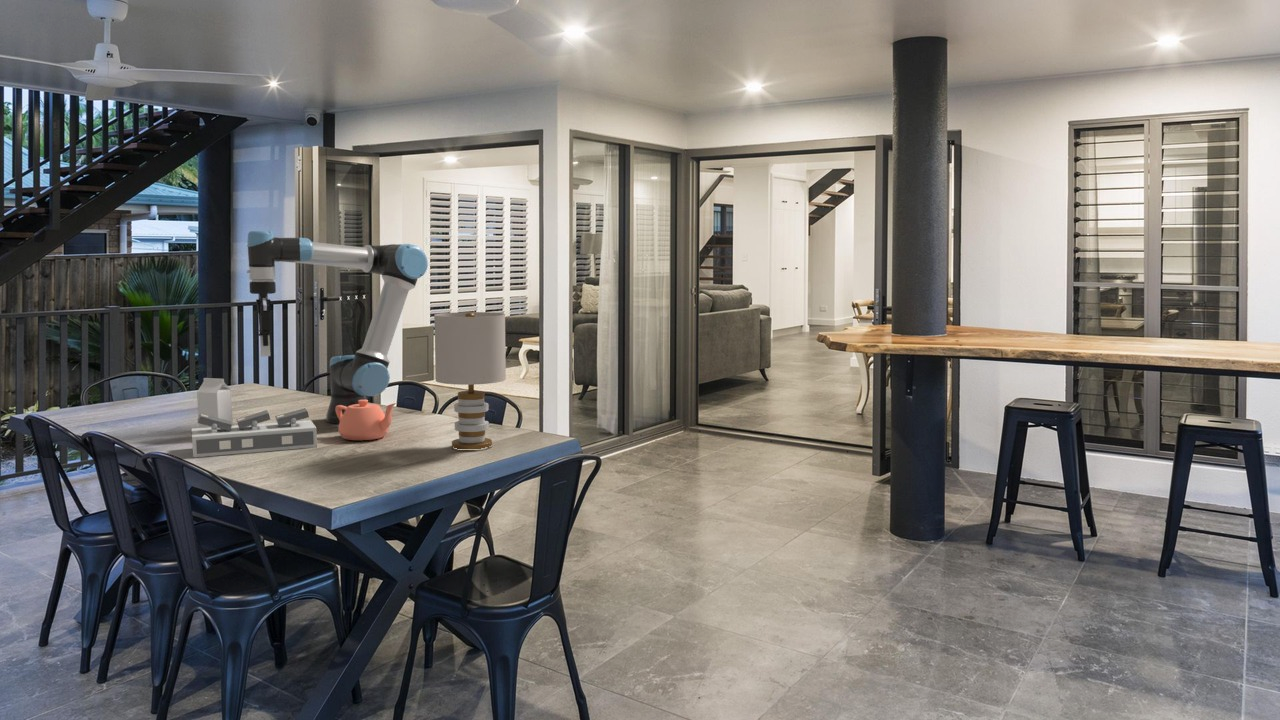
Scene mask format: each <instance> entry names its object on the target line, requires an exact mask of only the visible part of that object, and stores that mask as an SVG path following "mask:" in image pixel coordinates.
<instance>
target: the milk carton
mask: <svg viewBox="0 0 1280 720" xmlns="http://www.w3.org/2000/svg"><path fill="white" fill-rule="evenodd" d="M196 397H197V398H196V399H197V400H196V401H197V413H198V414H197V415H198V417H199V414H200V413H201V414H205V415H208V416H212V417H216V418H220V419H224V420H228V421H231V423H232V426H234V425H233V424H234V422H233V406H232V405H233V403H232V389H231V388H230V387H229V386H228V385H227V384H226V382H225V379H224V378H214V377H213V378H212V377H211V378H210V377H203V381H202V383H201V385H200V387H199V388H198V390H197V391H196ZM198 417H197V418H198ZM207 427H211V426H208V425H204V424H200V423H198V428H207Z"/></svg>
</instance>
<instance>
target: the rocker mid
mask: <svg viewBox="0 0 1280 720" xmlns="http://www.w3.org/2000/svg"><path fill="white" fill-rule="evenodd" d="M270 420H271V417H270V414H269V411H268V410H267V409H266V410H262V411H260V412H256V413H253V414H249V415H246V416H243V417H240V418H236V423H237V425H238V426H239V429H241V428H244V427H247V426H251V425H253V426H256V425H257V424H262V423H263V422H267V421H270Z"/></svg>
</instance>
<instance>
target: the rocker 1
mask: <svg viewBox="0 0 1280 720" xmlns="http://www.w3.org/2000/svg"><path fill="white" fill-rule="evenodd" d="M197 423H198V424H199V423H200V424H204V425H208V426H211V427H212V428H213V429H216V428H219V429H223V430H227V431H230V429H231V427H232V423H231V421H228V420H224V419H220V418H216V417H212V416H208V415H205V414H201V413H200V414H199V417H197Z"/></svg>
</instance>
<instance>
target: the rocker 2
mask: <svg viewBox="0 0 1280 720" xmlns="http://www.w3.org/2000/svg"><path fill="white" fill-rule="evenodd" d="M274 417H275V420H276V422H277V423H278V425H283V424H287V423H290V422H292V423H296V421H302V420H305V419H307V418H310V415H309V412H308V409H306V408H305V407H304V408H300V409H296V410H293V411H288V412H286V413H282V414H278V415H275V416H274Z"/></svg>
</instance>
